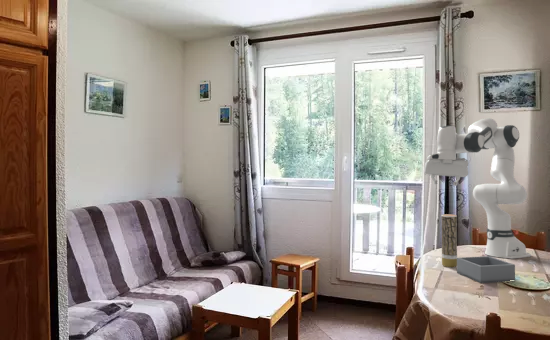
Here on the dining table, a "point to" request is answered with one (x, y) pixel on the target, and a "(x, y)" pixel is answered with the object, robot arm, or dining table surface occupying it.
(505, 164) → the robot arm
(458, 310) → the dining table surface
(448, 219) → the wooden log
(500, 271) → the box
